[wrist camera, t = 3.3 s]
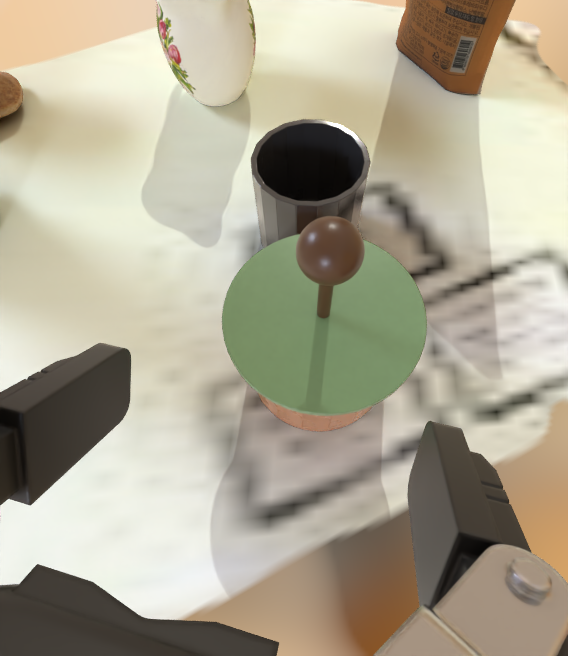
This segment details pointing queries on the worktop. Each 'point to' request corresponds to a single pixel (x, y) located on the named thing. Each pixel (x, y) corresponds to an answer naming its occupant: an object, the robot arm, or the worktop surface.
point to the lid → (324, 321)
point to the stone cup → (9, 94)
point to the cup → (307, 177)
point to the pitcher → (208, 46)
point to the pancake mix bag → (453, 39)
